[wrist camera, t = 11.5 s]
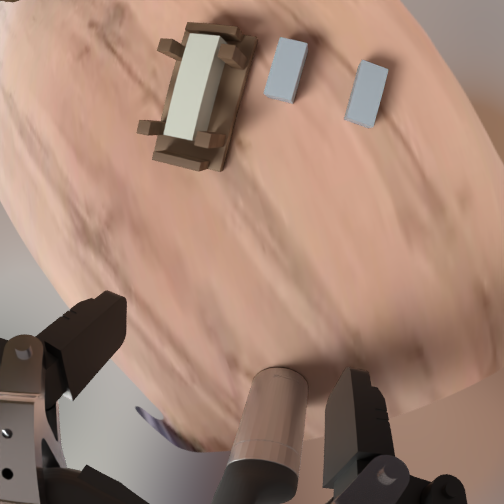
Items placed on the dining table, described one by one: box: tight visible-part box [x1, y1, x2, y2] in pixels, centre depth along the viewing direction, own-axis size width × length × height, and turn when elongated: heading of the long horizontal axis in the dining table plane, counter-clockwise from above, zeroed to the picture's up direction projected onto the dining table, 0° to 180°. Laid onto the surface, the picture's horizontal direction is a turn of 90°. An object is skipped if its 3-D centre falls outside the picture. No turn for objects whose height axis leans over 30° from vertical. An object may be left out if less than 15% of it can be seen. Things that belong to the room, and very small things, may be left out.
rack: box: [137, 22, 258, 172], centre depth 30 cm, size 17×9×7 cm, turn 165°
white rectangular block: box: [163, 33, 227, 141], centre depth 30 cm, size 4×12×4 cm, turn 165°
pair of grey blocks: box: [264, 37, 389, 128], centre depth 29 cm, size 7×12×3 cm, turn 75°
